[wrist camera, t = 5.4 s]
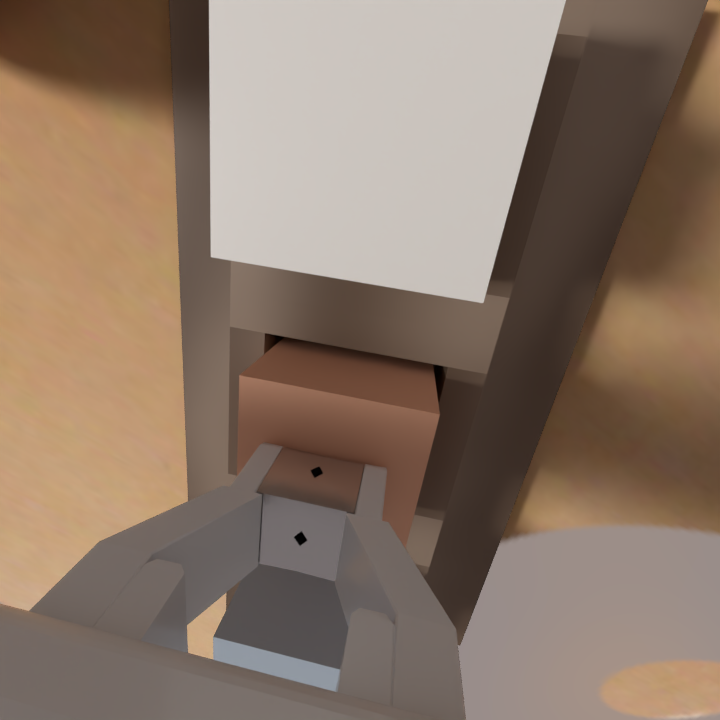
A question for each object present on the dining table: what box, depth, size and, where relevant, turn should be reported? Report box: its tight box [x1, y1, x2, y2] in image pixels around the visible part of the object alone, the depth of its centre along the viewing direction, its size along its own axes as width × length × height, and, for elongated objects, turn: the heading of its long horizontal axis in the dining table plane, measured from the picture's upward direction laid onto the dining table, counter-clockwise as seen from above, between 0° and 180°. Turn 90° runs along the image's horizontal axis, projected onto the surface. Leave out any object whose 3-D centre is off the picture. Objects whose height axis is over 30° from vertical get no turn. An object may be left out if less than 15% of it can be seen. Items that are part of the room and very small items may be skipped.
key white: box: [209, 0, 566, 303], centre depth 7 cm, size 4×4×4 cm
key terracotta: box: [237, 337, 440, 548], centre depth 10 cm, size 4×4×4 cm
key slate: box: [213, 563, 348, 691], centre depth 12 cm, size 4×4×4 cm
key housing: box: [169, 0, 708, 645], centre depth 12 cm, size 13×23×3 cm, turn 172°
